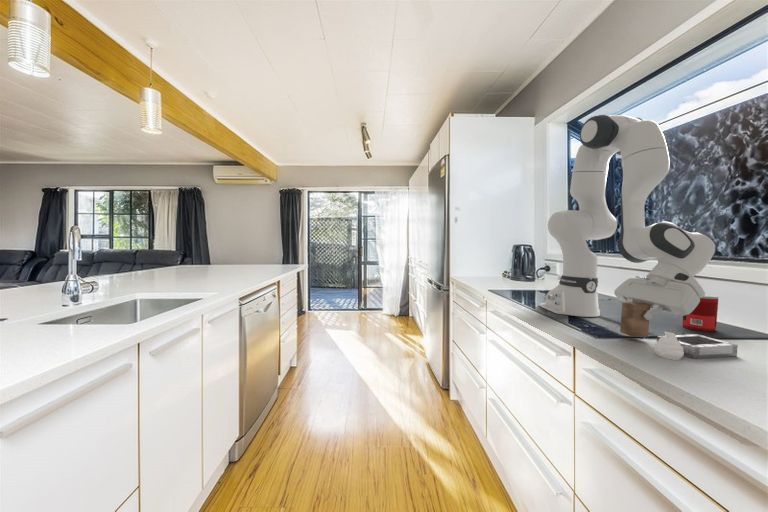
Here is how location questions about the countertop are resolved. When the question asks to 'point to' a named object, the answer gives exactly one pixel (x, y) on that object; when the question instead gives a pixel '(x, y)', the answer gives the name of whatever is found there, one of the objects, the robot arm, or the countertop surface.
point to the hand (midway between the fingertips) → (634, 315)
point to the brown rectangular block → (634, 319)
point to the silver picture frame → (705, 346)
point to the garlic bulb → (669, 347)
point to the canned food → (703, 314)
